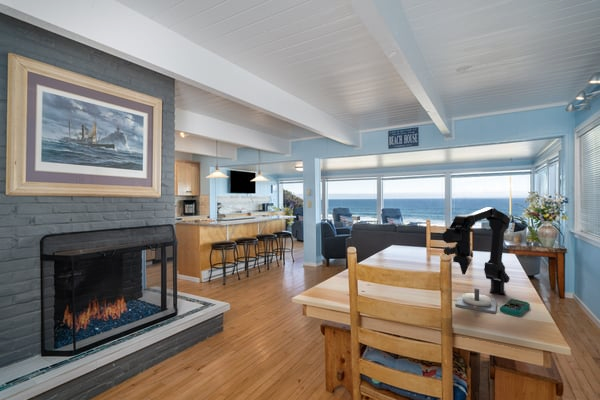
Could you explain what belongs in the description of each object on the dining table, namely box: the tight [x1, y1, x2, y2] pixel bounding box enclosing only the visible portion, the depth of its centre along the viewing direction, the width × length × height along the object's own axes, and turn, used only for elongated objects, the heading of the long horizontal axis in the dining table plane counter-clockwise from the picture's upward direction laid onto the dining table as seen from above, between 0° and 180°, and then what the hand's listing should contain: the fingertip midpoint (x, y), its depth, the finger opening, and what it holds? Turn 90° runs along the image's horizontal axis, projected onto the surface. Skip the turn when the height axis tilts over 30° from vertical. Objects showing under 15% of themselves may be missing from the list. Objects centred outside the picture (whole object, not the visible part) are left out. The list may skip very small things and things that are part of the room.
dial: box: [462, 287, 492, 306], centre depth 132 cm, size 11×11×7 cm
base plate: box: [454, 293, 498, 315], centre depth 132 cm, size 16×15×1 cm
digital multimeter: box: [499, 298, 531, 317], centre depth 126 cm, size 7×15×3 cm, turn 129°
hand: (463, 274), depth 139 cm, fingers closed
